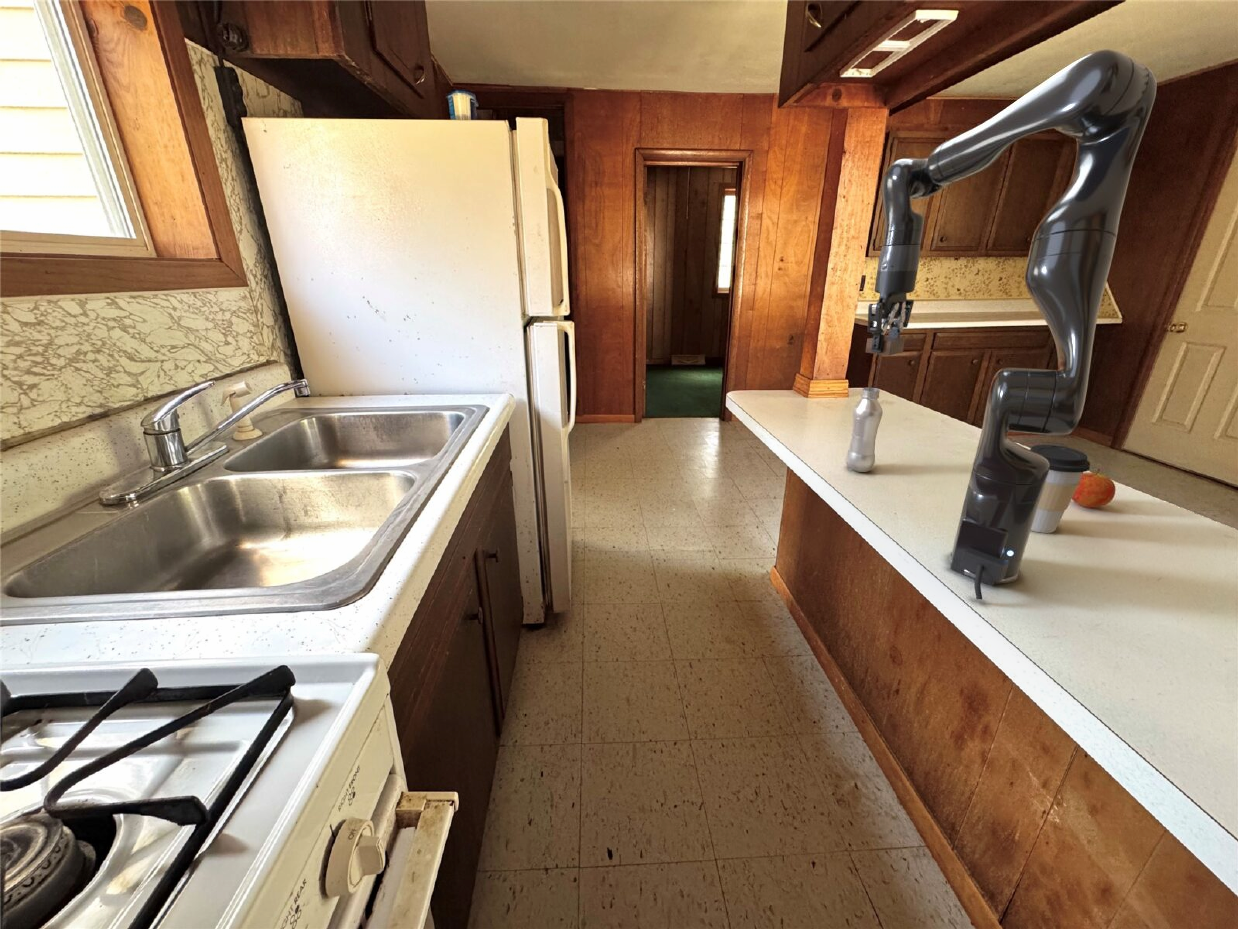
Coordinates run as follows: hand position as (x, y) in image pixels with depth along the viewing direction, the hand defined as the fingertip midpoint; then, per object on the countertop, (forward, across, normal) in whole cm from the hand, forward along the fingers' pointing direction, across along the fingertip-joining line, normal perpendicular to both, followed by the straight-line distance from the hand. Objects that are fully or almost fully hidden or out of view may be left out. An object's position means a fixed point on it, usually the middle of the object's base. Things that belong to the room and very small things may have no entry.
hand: (884, 349), depth 113 cm
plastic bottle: (+29, -1, +1) cm, 29 cm away
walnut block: (0, 0, 0) cm, 0 cm away
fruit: (+29, +17, -38) cm, 50 cm away
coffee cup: (+29, 0, -35) cm, 45 cm away
